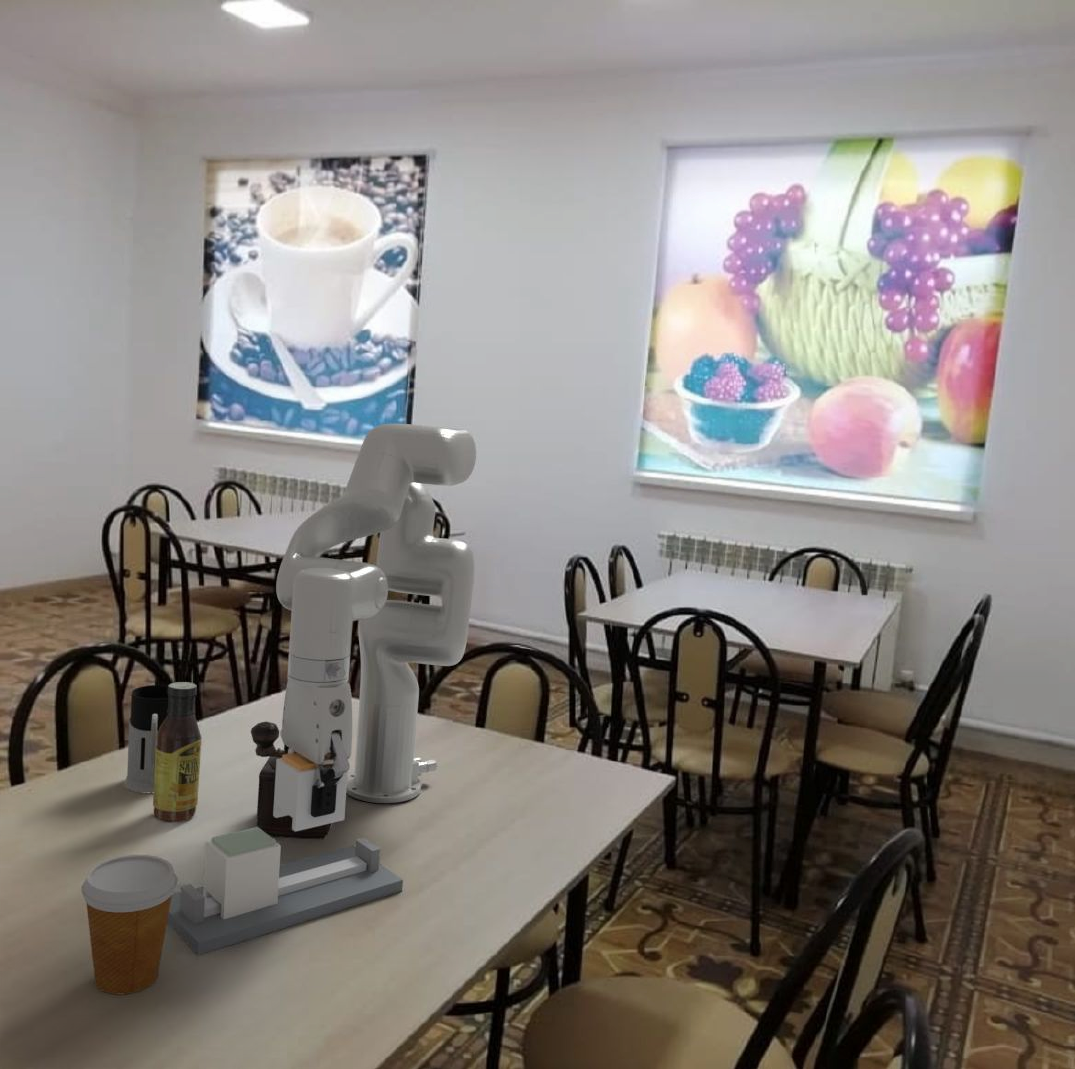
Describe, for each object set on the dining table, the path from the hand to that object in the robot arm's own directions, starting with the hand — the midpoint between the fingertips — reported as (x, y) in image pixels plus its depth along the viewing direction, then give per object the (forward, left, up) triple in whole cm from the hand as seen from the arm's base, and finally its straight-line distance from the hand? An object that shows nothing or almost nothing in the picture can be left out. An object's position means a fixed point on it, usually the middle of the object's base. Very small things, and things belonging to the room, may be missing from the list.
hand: (309, 804), depth 128 cm
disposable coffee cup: (+25, +6, -12) cm, 28 cm away
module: (0, 0, -2) cm, 2 cm away
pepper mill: (-8, -18, -12) cm, 23 cm away
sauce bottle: (+4, -31, -12) cm, 34 cm away
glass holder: (+3, -42, -12) cm, 44 cm away
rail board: (+3, 0, -12) cm, 12 cm away
